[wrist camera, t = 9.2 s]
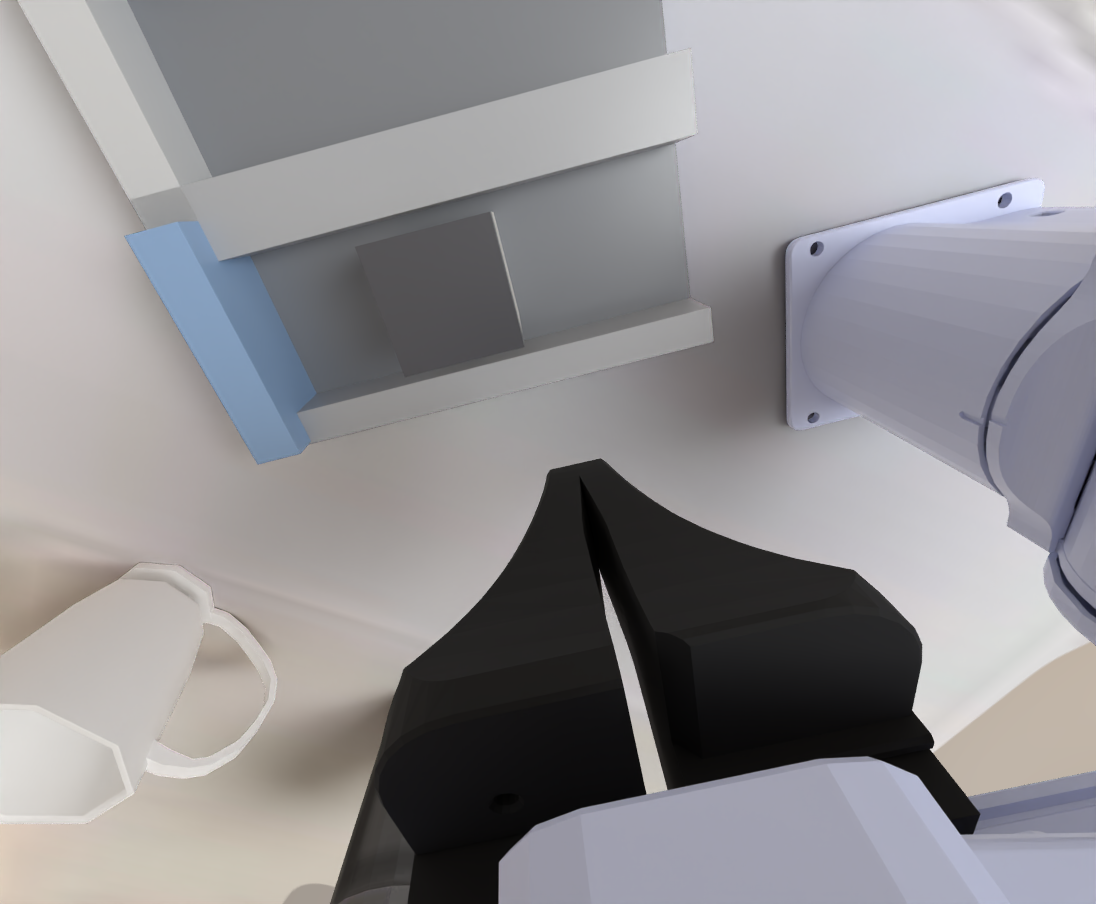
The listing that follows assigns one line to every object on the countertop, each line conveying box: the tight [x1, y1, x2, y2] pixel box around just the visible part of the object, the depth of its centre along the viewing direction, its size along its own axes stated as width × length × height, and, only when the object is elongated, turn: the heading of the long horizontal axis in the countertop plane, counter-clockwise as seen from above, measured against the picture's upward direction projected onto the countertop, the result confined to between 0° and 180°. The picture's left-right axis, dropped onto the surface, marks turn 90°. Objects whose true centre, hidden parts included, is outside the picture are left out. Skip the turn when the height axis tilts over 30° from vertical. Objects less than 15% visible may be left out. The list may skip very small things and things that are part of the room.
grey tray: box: [17, 0, 714, 464], centre depth 15 cm, size 16×15×4 cm
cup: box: [0, 563, 278, 824], centre depth 20 cm, size 7×10×8 cm
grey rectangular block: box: [355, 212, 525, 377], centre depth 15 cm, size 3×3×5 cm
